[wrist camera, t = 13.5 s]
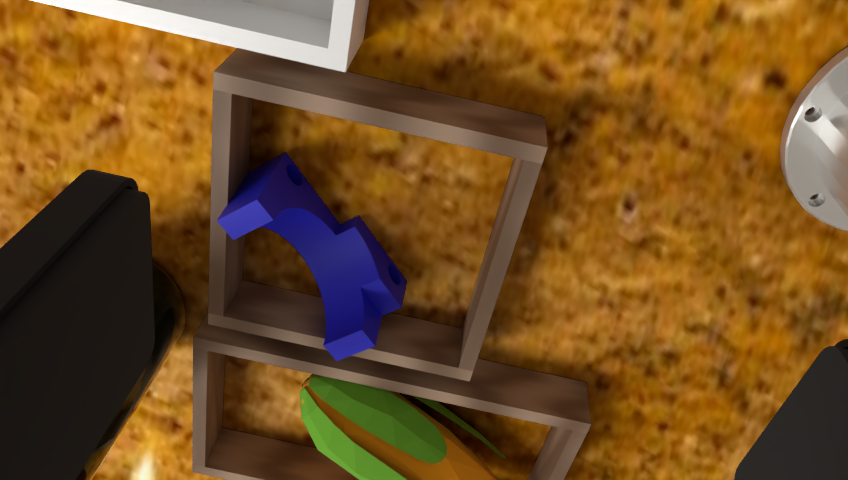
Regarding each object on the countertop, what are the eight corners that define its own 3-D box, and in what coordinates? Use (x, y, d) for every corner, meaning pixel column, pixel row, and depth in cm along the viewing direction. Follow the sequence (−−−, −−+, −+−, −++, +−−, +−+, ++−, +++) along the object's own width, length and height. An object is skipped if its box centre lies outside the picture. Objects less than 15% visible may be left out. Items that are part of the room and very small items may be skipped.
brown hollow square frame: (544, 116, 40) (547, 147, 37) (472, 341, 50) (469, 381, 47) (238, 46, 39) (213, 71, 36) (228, 287, 50) (208, 324, 46)
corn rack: (586, 382, 51) (591, 424, 48) (529, 502, 60) (530, 544, 56) (214, 300, 50) (193, 337, 47) (210, 433, 59) (192, 472, 56)
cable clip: (407, 280, 48) (395, 338, 43) (354, 302, 49) (336, 361, 44) (305, 140, 43) (277, 188, 38) (249, 170, 44) (216, 220, 39)
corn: (321, 401, 44) (545, 542, 50) (349, 320, 50) (546, 454, 56) (263, 448, 48) (477, 573, 54) (295, 367, 54) (484, 488, 60)
